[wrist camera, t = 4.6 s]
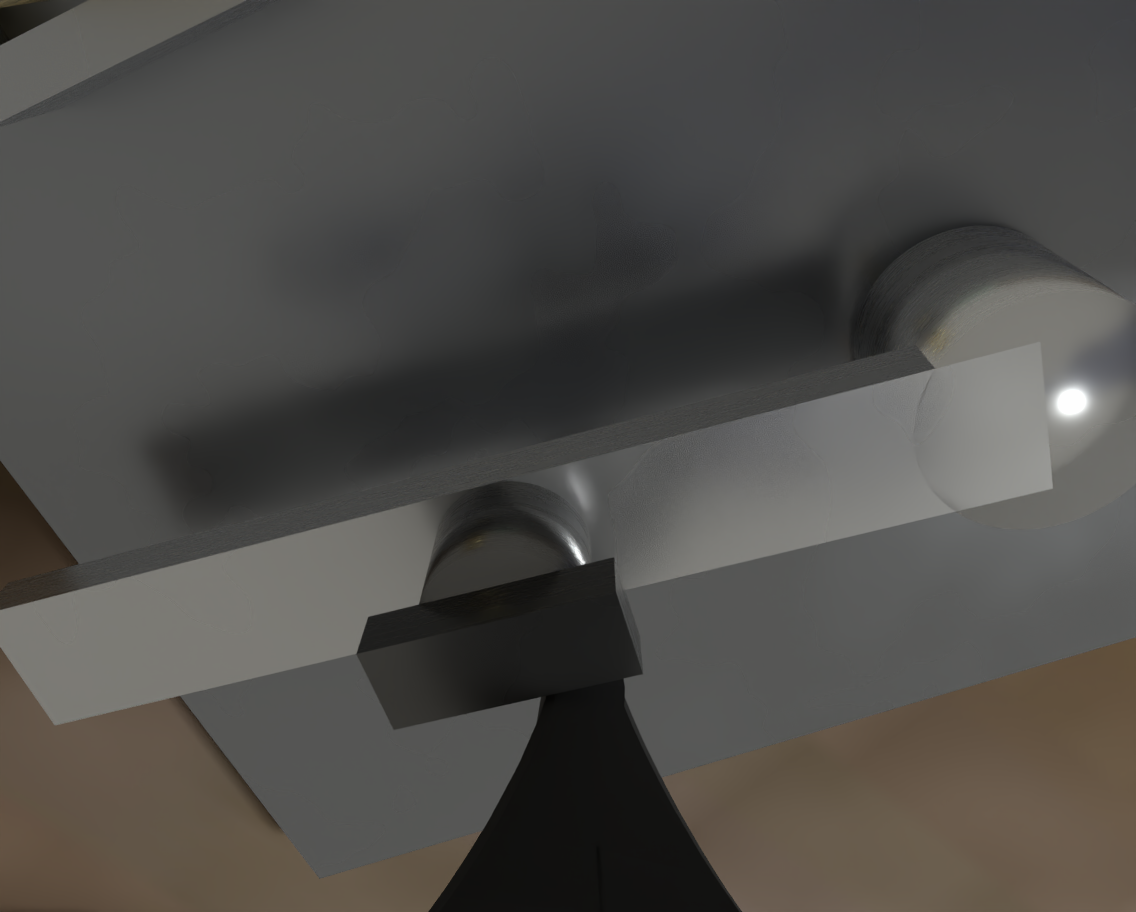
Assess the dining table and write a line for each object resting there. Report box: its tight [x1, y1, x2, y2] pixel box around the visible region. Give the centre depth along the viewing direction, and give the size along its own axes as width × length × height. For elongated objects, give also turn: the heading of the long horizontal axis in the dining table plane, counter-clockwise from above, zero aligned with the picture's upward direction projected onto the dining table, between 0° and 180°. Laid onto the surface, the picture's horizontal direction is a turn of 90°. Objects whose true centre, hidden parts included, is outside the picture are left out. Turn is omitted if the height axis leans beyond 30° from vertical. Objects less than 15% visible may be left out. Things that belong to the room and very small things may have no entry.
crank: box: [0, 226, 1136, 730], centre depth 12 cm, size 14×3×5 cm, turn 107°
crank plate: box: [0, 0, 1136, 879], centre depth 12 cm, size 22×18×3 cm
